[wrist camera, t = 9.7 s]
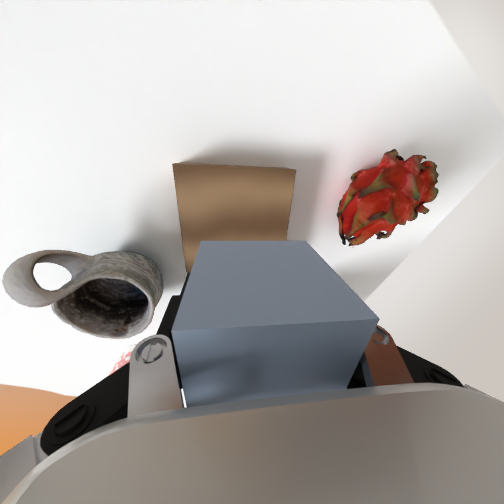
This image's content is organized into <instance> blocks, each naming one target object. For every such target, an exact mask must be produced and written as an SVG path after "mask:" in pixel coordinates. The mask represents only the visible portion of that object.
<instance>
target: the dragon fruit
mask: <svg viewBox="0 0 504 504" xmlns="http://www.w3.org/2000/svg"><path fill="white" fill-rule="evenodd" d="M423 158H425V159H427V158H426V156H422V155H413V156H411V157H410V158H408V159H407V160H406V161H404V159H403V158H402V157H401V156H398V152H397V150H396V149H394V150H391V151H390V152H386V153H385V154H384V156H383V158H382V160H381V163H380V164H379V165H378V166H377V167H374V168H371V169H367V170H360V171H358V172H356V173H354V174H353V175H352V176H351V180H352V183H351V184H350V186H349V188H348V190H347V191H346V193H345V194H344V195H343V198H342V200H340V203H339V207H338V213H337V217H338V220H339V234H340V237H341V239H342V240H343V241H342V243H343V244H344V245H346V241H345V239H346V240H348V242H349V243H350V244H349V246H351V245H352V246H353V245H359V244H362V243H364V242H365V241H366V240H367V239H369V238H371V237H372V236H373V235H374V234H376V235H377V238H376V239H381V238H387V237H389V236H390V235H391V233H392V232H393V230H394V229H395V226H396V225H397V224H400V225H405V224H406V221H407V220H408V221H412V220H415V219H416V218H417V216H418V212H420V213H423V214H426V213H428V212H429V209H427V208H426V207H424V206H423V204H424V203H428V202H431V201H433V200H434V199H435V198H436V196H437V194H438V189H437V188H435V187H434V186H435V184H436V183H437V182H438V181H437V177H438V175H439V174H438V173H437V172H436V168H437V165H435V163H434V162H431V161H425V162H423V163H420V162H421V160H422V159H423ZM381 231H386V232H387V233H386V234H384V232H381ZM344 234H345V235H346V236H344ZM352 236H354V237H352ZM350 237H352V238H350ZM348 238H349V239H348ZM352 248H353V247H352Z"/></svg>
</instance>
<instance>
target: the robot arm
mask: <svg viewBox="0 0 504 504" xmlns="http://www.w3.org/2000/svg"><path fill="white" fill-rule="evenodd" d="M190 273H191V272H188V274H187V277H186V280H185V283H184V286H183V288H182V291H181V294H180V295H174V296H172V297H171V299H170V302H169V304H168V307H167V309H166V312H165V314H164V317H163V319H162V322H161V324H160V326H159V329H158V331H157V334H156V335H153V336H149V337H147V338H145V339H143V340H142V341H140V342H139V343H138V344H137V345H136V346H135V347H134V349H133V351H132V352H131V356H130V362H128V363H127V364H125V365H124V366H122V367H121V368H119V369H118V370H116V371H115V372H113V373H112V374H110V375H109V376H108V377H106V378H105V379H103V380H102V381H100V382H99V383H97V384H96V385H94V386H93V387H91V388H90V389H88V390H87V391H86V392H84V393H83V394H81V395H80V396H78V397H77V398H75V399H74V400H72V401H71V402H69V403H68V404H67V405H65V406H64V407H63V408H62V409H60V410H59V411H58V412H57V413H56V414H55V415H54V416H53V417H52V418H51V419H50V421H49V423H48V424H47V425H46V427H45V428H44V430H43V431H42V432H41V433H39V434H38V435H36V436H35V437H34V436H33V435H30V436H29V437H27V438H26V439H24V440H23V441H21V442H20V443H19V444H17V445H16V446H14V447H13V448H12V449H10V450H8V451H7V452H6V453H4V454H3V455H1V456H0V504H504V402H502V401H500V400H498V399H496V398H493V397H491V396H489V395H487V394H485V393H483V392H481V391H479V390H477V389H475V388H473V387H470V386H469V385H466V384H465V385H464V386H463V385H462V384H461V382H460V381H459V380H458V379H457V378H456V377H455V376H454V375H452V374H451V373H450V372H448V371H447V370H445V369H443V368H442V367H439V366H438V365H436V364H434V363H431V362H429V361H427V360H425V359H423V358H421V357H419V356H417V355H415V354H413V353H411V352H409V351H407V350H405V349H402V348H400V347H398V346H396V344H395V342H394V340H393V338H392V337H391V335H390V334H389V333H388V332H387V331H386V330H385V329H384V328H382V327H380V326H378V325H376V327H375V330H374V332H373V334H372V336H371V338H370V340H369V342H368V344H367V346H366V348H365V350H364V352H363V354H362V357H361V359H360V361H359V363H358V365H357V367H356V369H355V371H354V373H353V375H352V377H351V379H350V381H349V383H348V386H347V388H346V389H345V390H335V391H326V392H317V393H308V394H299V395H290V396H281V397H272V398H262V399H254V400H245V401H237V402H228V403H219V404H211V405H202V406H194V407H187V408H184V403H183V397H182V392H181V389H182V388H183V386H182V381H181V376H180V371H179V366H178V361H177V356H176V352H175V347H174V342H173V337H172V332H171V330H172V327H173V324H174V321H175V318H176V315H177V312H178V309H179V306H180V303H181V300H182V297H183V294H184V291H185V288H186V285H187V282H188V279H189V276H190Z"/></svg>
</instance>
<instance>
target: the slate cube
mask: <svg viewBox="0 0 504 504" xmlns="http://www.w3.org/2000/svg"><path fill="white" fill-rule="evenodd" d="M378 321H379V318H378V317H377V315H376V314H375V313H374V312H373V311H372V310H371V309H370V308H369V307H368V306H367V305H366V304H365V303H364V302H363V301H362V300H361V299H360V298H359V296H358V295H357V294H356V293H355V292H354V291H353V290H352V289H351V288H350V287H349V286H348V285H347V284H346V283H345V282H344V281H343V280H342V279H341V278H340V277H339V275H338V274H337V273H336V272H335V271H334V270H333V269H332V268H331V267H330V266H329V265H328V264H327V263H326V262H325V261H324V260H323V259H322V258H321V257H320V255H319V254H318V253H317V252H316V251H315V250H314V249H313V248H312V247H311V246H310V245H309V244H308V243H307V242H306V241H201V242H200V245H199V249H198V252H197V255H196V258H195V261H194V264H193V267H192V270H191V273H190V276H189V279H188V282H187V285H186V288H185V291H184V294H183V297H182V300H181V303H180V306H179V309H178V312H177V315H176V318H175V321H174V324H173V327H172V330H171V332H172V337H173V342H174V347H175V352H176V356H177V361H178V366H179V371H180V376H181V381H182V386H183V390H184V395H185V400H186V405H187V407H194V406H202V405H211V404H219V403H228V402H237V401H245V400H254V399H262V398H272V397H281V396H290V395H299V394H308V393H317V392H326V391H335V390H345V389H346V388H347V386H348V383H349V381H350V379H351V377H352V375H353V373H354V371H355V369H356V367H357V365H358V363H359V361H360V359H361V357H362V354H363V352H364V350H365V348H366V346H367V344H368V342H369V340H370V338H371V336H372V334H373V332H374V330H375V327H376V325H377V323H378Z"/></svg>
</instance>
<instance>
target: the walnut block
mask: <svg viewBox="0 0 504 504" xmlns="http://www.w3.org/2000/svg"><path fill="white" fill-rule="evenodd" d="M172 165H173V173H174V180H175V188H176V196H177V203H178V211H179V219H180V226H181V234H182V242H183V249H184V257H185V265H186V272H187V273H188V272H191V270H192V267H193V264H194V261H195V258H196V255H197V252H198V249H199V245H200V242H201V241H286V236H287V229H288V222H289V216H290V209H291V202H292V195H293V188H294V181H295V174H296V170H294V169H289V168H277V167H257V166H237V165H217V164H198V163H174V164H172Z"/></svg>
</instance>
